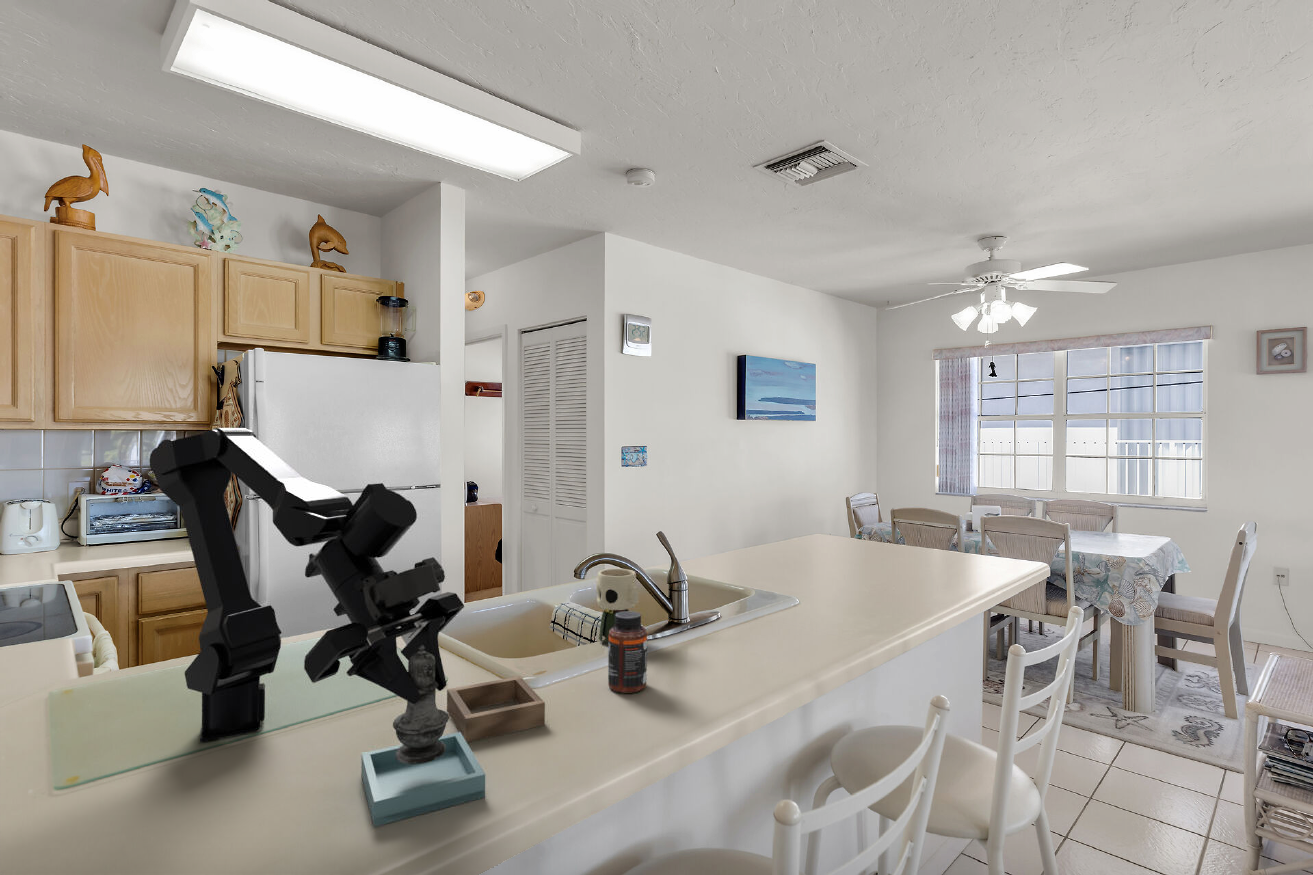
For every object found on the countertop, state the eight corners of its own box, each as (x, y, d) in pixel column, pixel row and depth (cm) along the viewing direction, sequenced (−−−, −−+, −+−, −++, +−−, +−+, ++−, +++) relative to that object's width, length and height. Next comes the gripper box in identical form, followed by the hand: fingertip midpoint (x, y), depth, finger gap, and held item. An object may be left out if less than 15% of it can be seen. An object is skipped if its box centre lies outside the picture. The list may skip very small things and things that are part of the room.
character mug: (582, 638, 124) (583, 570, 124) (610, 630, 129) (611, 564, 129) (621, 653, 117) (623, 580, 116) (650, 644, 122) (651, 574, 122)
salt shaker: (408, 771, 69) (409, 658, 69) (382, 751, 73) (383, 644, 73) (458, 751, 73) (460, 644, 73) (432, 733, 77) (433, 632, 77)
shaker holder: (465, 742, 83) (465, 718, 83) (446, 710, 92) (447, 689, 92) (544, 724, 88) (544, 702, 88) (519, 696, 98) (519, 676, 97)
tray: (373, 826, 66) (374, 801, 65) (361, 774, 75) (361, 752, 75) (485, 796, 71) (485, 773, 71) (460, 752, 81) (460, 731, 81)
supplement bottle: (654, 687, 102) (655, 614, 102) (627, 698, 98) (628, 622, 97) (627, 676, 106) (628, 606, 106) (599, 686, 102) (601, 613, 101)
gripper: (325, 552, 66) (407, 682, 61) (453, 527, 83) (525, 627, 79) (270, 619, 69) (345, 747, 65) (404, 582, 86) (470, 681, 82)
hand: (430, 694), depth 72 cm, fingers closed on salt shaker, 4 cm apart
